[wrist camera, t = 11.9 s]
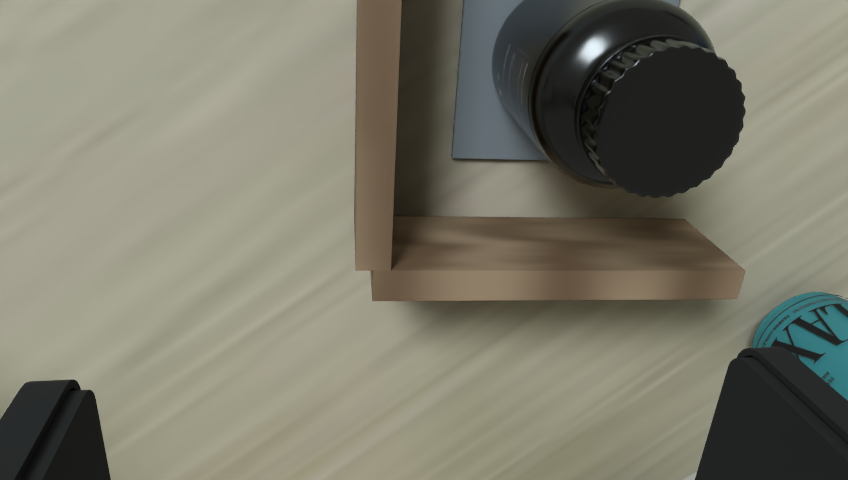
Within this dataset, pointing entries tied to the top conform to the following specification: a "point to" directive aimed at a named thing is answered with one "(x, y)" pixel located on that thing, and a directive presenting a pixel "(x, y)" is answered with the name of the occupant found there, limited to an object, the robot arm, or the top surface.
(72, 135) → the top surface
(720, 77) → the supplement bottle
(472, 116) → the mat
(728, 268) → the wooden corner wall
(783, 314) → the beverage bottle
